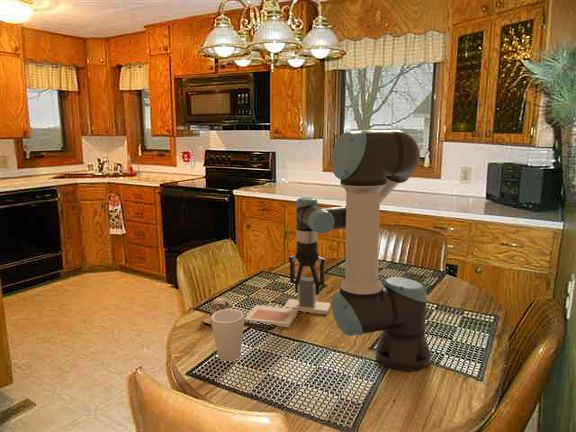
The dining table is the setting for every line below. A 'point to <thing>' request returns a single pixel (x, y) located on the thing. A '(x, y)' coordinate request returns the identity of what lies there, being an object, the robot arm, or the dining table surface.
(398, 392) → the dining table surface
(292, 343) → the dining table surface
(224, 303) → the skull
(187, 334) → the dining table surface
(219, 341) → the foam cup
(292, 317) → the white flat piece
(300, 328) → the dining table surface
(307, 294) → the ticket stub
